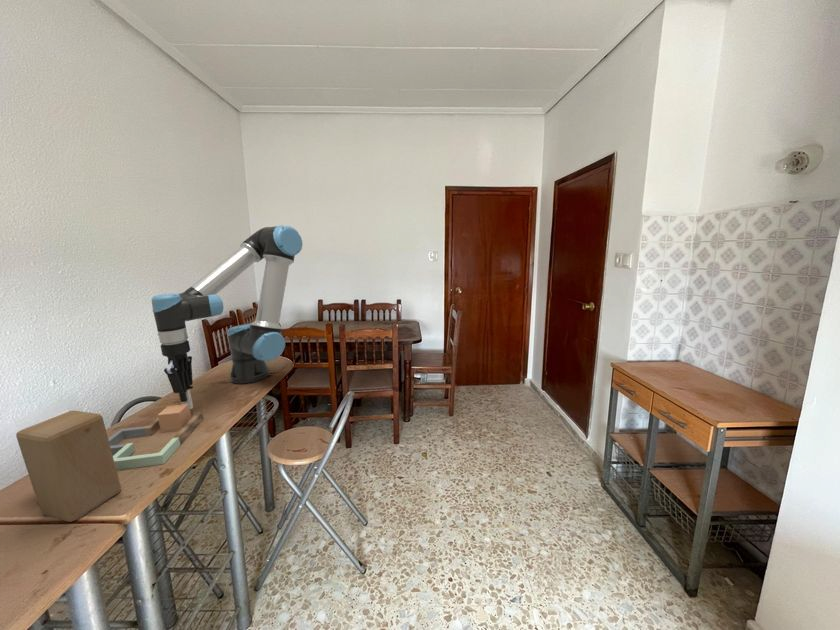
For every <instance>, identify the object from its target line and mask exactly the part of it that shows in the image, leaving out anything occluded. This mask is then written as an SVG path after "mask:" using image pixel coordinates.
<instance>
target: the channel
mask: <svg viewBox="0 0 840 630" xmlns="http://www.w3.org/2000/svg"><path fill="white" fill-rule="evenodd" d="M191 418H192V419H191V420H190V421H189V422H188V423H187V424H186V425H185V426H184V427H183V428H182V429H181V430H180V431H177V433H176V434H175V435H174V436H173V437H172V438H177V437H179V441H180V446H181V445H182V444H183V443H184V442H185V441H186V439H187V438H188V437H189V436H190V435H191V434H192V433H193V432H194V431H195V429H196V428H197V427H198V426H199V425H200V423H201V422H203V420H204V414H203V412H202V411H201V412H199V411H198V412H195V414H194V415H193V416H192V417H191ZM146 426H147V427H146V428H145V431H146V436H145V437H149V436H153V435H154V434H155V433H156V432H158V430H160V425H159V420H158V416H157V417H156V418H155V419H154V420H153V421H152V422H150V423H149V424H148V425H146Z"/></svg>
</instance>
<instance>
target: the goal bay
mask: <svg viewBox="0 0 840 630" xmlns="http://www.w3.org/2000/svg"><path fill="white" fill-rule="evenodd" d="M125 444H126V445H125V446H124V447H123V448H122V449H121V450H119V451H118V452H117V453H116V454H115V455H114V456H113V459H114V463H115V467H116V471H119V470H126V469H127V470H128V469H135V468H142V467H150V466H157V465H164V464H165V463H166V462H167V461H168V460H169V459H170V458H171V457H172V455H173V454H175V452H176V451H177V450H178V448H179V447H180V446H181V445H180V441H179V437H177V438H173V437H172V438H171V440H169V442H167V444H166V445H165V446H164V447H163V448H162V449H161V450H160V451H158V452H155V453H154V452H153V453H146V454H139V455H133V454H134V453H135V452H136V448H135V444H134V442H130V443H125ZM131 455H132V456H131Z"/></svg>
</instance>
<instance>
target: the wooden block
mask: <svg viewBox="0 0 840 630" xmlns="http://www.w3.org/2000/svg"><path fill="white" fill-rule="evenodd" d="M108 438H109V437H108V433H107V430H106V426H105V422H104V418H103V416H102V415H101V414H100V413H95V412H87V411H83V410H82V411H80V410H70V411H67V412H64V413H61V414H59V415H57V416H54V417H51V418H48V419H46V420H44V421H41V422H39V423H35V424H33V425H30V426H28V427H26V428H23V429H21V430H19V431H18V432H16V439H17V442H18V446H19V449H20V452H21V455H22V457H23V461H24V464H25V468H26V471H27V473H28V477H29V480H30V483H31V485H32V489H33V492H34V495H35V498H36V502H37V504H38V507H39V511H40V514H42V515H43V516H47V517H50V518H53V519H57V520H61V521H66V522H71V523H72V522H74V521H76V520H78V519H80V518H81V517H83V516H85V514H87V513H89V512H90V511H92V510H94V509H95V508H97V507H98V506H99V505H102V504H103V503H105V502H106V501H107V500H109V499H111V498H113V497H114V496H115V495H117V494H119V493H120V491H121V490H122V487H121V482H120V479H119V476H118V470H116V467H115V463H114V459H113V455H112V451H111V448H110V444H109V440H108Z"/></svg>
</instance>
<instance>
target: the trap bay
mask: <svg viewBox="0 0 840 630" xmlns="http://www.w3.org/2000/svg"><path fill="white" fill-rule="evenodd" d="M147 426H148V425H145V426H138V427H137V426H136V427H127V428H120V429H118V430H117V431H116V432H115V433H113V434H112V435H111V436H110V437H108V440H109V444H110V448H111V451H112V455H113V456H114V455H115V454H116V453H117V452H118V451H119V450H121V449H122V448H123V447H124V446H125V445H126V444H127V443H122V444H120V443H121V442H123V440H125V439H133V438H140V437H142V438H143V437H147V436H146V431H145V428H146V427H147Z"/></svg>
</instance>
